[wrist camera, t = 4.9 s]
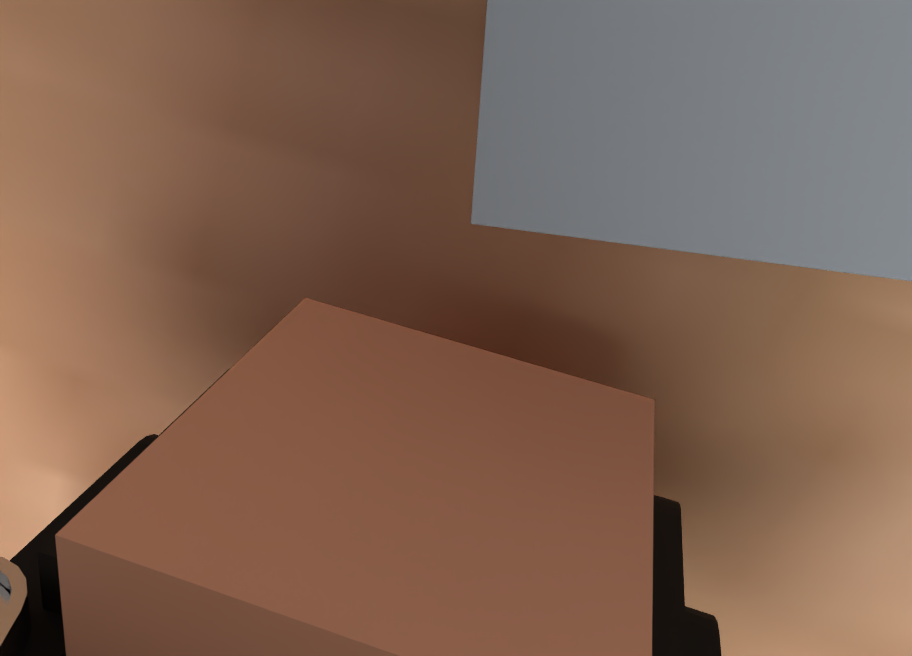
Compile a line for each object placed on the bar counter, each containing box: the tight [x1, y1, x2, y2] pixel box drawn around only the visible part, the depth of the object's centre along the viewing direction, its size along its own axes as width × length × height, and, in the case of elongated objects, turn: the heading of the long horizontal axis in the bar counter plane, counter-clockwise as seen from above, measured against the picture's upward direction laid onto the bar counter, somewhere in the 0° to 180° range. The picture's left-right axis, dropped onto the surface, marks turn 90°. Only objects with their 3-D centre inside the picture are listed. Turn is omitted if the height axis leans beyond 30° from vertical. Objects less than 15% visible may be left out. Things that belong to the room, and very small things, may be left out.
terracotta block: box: [55, 298, 654, 656], centre depth 9 cm, size 5×5×5 cm
